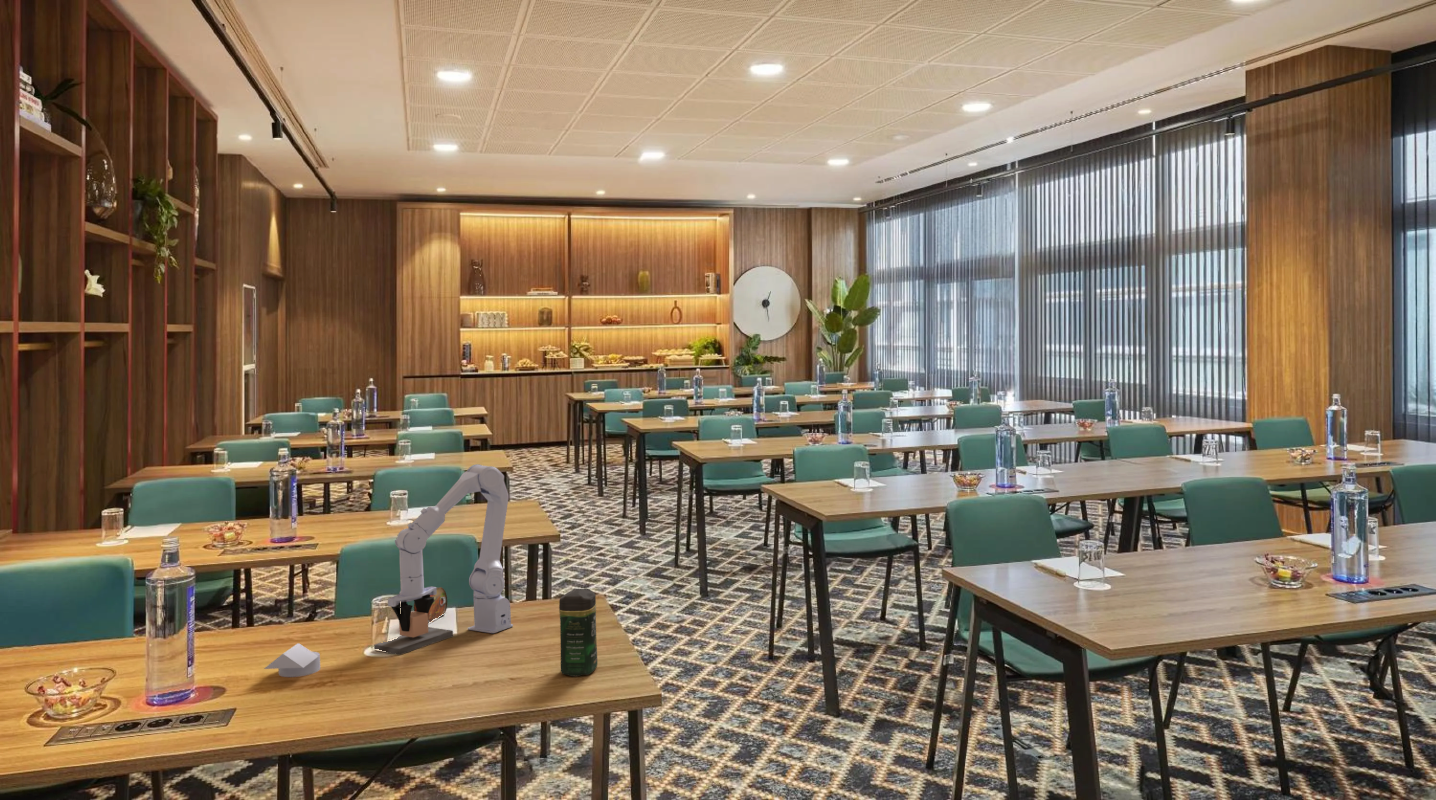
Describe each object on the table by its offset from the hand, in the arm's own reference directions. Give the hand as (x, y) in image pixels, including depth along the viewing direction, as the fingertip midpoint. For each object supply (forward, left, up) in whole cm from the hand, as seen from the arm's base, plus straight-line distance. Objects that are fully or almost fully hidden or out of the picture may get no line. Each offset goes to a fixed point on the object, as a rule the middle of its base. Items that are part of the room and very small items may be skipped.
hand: (414, 628), depth 249 cm
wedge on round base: (+7, +30, -4) cm, 31 cm away
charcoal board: (0, 0, -4) cm, 4 cm away
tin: (+14, -19, -4) cm, 24 cm away
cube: (0, 0, -1) cm, 1 cm away
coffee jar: (-53, 0, -4) cm, 54 cm away
